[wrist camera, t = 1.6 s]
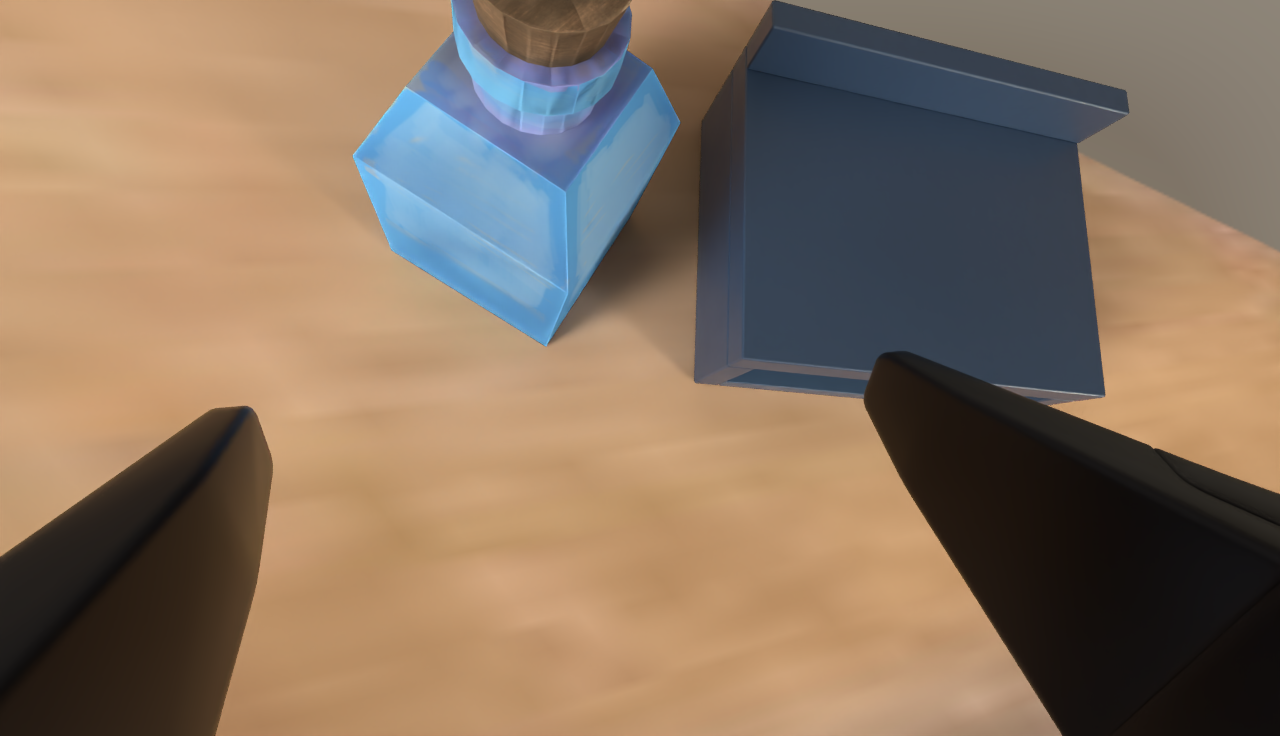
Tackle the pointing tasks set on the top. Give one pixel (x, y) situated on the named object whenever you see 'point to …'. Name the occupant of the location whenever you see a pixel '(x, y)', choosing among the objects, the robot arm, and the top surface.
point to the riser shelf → (894, 214)
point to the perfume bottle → (519, 153)
